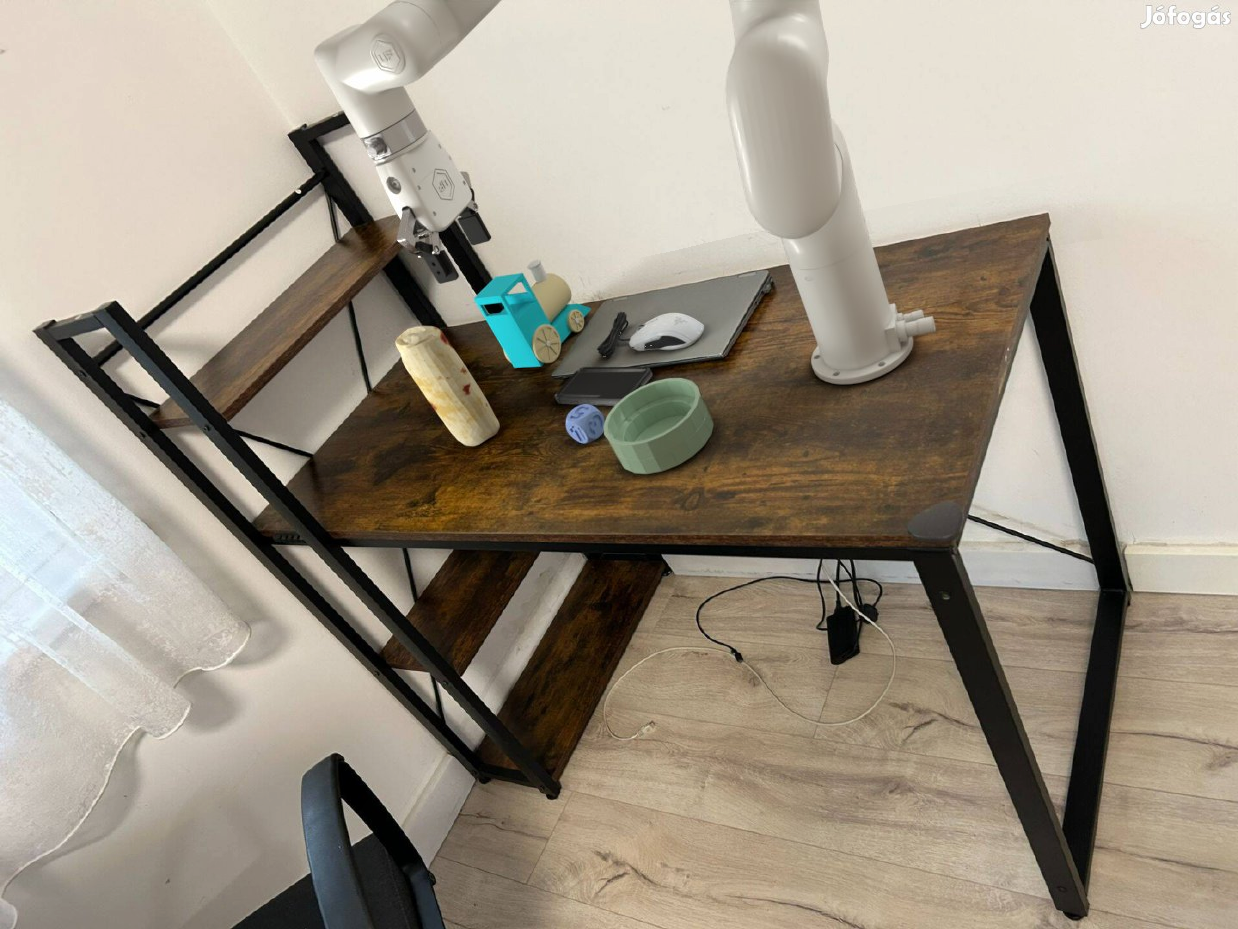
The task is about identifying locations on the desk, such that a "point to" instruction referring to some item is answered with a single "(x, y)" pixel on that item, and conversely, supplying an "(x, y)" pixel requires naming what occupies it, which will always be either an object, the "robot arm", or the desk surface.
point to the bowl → (658, 425)
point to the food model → (447, 384)
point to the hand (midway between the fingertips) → (466, 260)
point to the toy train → (532, 316)
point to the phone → (602, 385)
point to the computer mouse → (655, 333)
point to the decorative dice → (585, 423)
